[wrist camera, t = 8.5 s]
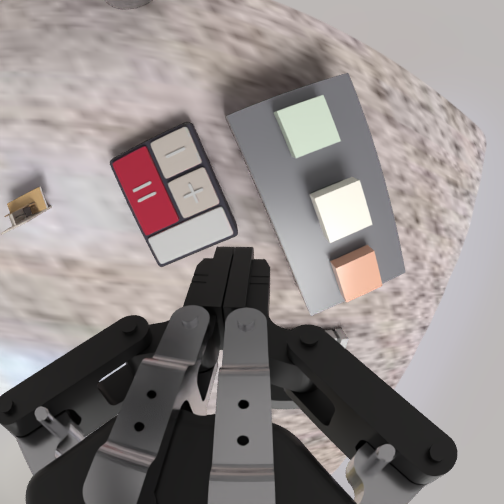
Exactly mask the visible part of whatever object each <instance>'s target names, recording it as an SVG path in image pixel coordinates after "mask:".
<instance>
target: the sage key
mask: <svg viewBox="0 0 504 504" xmlns="http://www.w3.org/2000/svg"><path fill="white" fill-rule="evenodd" d="M274 115H275V117H276V119H277V122H278V124H279V126H280V129H281V131H282V134H283V136H284V138H285V141H286V143H287V146H288V148H289V151H290V153H291V156H292V157H294V158H298V157H301V156H303V155H306V154H308V153H311V152H314V151H316V150H319V149H321V148H324V147H327V146H329V145H332V144H335V143H337V142H340V141H341V140H340V137H339V134H338V132H337V129H336V126H335V123H334V121H333V118H332V116H331V113H330V110H329V108H328V105H327V103H326V100H325V98H324V95H322V96H318V97H315V98H312V99H309V100H306V101H303V102H300V103H298V104H295V105H292V106H289V107H287V108H284V109H281V110H278V111H276V112H274Z"/></svg>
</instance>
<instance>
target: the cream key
mask: <svg viewBox="0 0 504 504" xmlns="http://www.w3.org/2000/svg"><path fill="white" fill-rule="evenodd" d="M309 195H310V198H311V200H312V203H313V206H314V209H315V211H316V214H317V217H318V220H319V223H320V225H321V228H322V231H323V234H324V237H325V238H326V239H327V240H328V241H329V242H330V243H332V242H334V241H336V240H339V239H341V238H343V237H345V236H348V235H350V234H352V233H354V232H357V231H359V230H361V229H363V228H366V227H368V226H370V225H372V221H371V217H370V213H369V210H368V206H367V203H366V199H365V196H364V193H363V189H362V186H361V183H360V180H358V179H356V178H354V177H350V178H348V179H345V180H343V181H340V182H338V183H334V184H332V185H329V186H327V187H324V188H322V189H319V190H317V191H315V192H312V193H311V194H309Z"/></svg>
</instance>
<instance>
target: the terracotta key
mask: <svg viewBox="0 0 504 504" xmlns="http://www.w3.org/2000/svg"><path fill="white" fill-rule="evenodd" d="M330 262H331V265H332V268H333V271H334V274H335V277H336V280H337V284H338V287H339V290H340V293H341V295H342V297H343V298H344V300H345V301H346V302H349V301H351V300H353V299H355V298H357V297H359V296H362V295H364V294H366V293H368V292H370V291H372V290H374V289H376V288H379V287H381V286H382V281H381V277H380V272H379V268H378V264H377V260H376V256H375V252H374V250H373V249H372V248H371V247H369V246H368V245H366V246H363V247H361V248H359V249H357V250H355V251H352V252H350V253H348V254H346V255H343V256H341V257H339V258H337V259H334V260H332V261H330Z"/></svg>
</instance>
